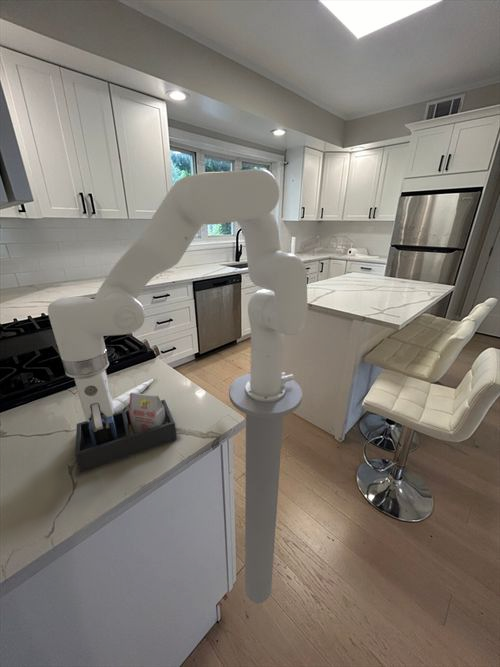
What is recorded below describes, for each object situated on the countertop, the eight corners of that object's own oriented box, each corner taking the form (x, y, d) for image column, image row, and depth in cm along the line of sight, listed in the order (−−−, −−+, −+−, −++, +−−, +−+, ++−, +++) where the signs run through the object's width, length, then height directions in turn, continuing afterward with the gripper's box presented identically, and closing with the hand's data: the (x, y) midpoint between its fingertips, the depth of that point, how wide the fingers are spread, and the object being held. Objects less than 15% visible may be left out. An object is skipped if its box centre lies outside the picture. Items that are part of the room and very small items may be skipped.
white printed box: (141, 422, 68) (135, 388, 64) (166, 426, 67) (162, 391, 63) (132, 433, 64) (125, 397, 61) (159, 437, 63) (153, 401, 59)
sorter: (166, 413, 72) (164, 399, 70) (176, 439, 64) (174, 423, 62) (81, 439, 64) (76, 423, 62) (80, 472, 55) (75, 455, 54)
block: (115, 425, 63) (111, 409, 62) (117, 438, 60) (113, 422, 58) (93, 432, 61) (88, 416, 60) (93, 446, 58) (88, 429, 56)
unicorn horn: (163, 382, 86) (162, 369, 84) (101, 434, 65) (97, 418, 63) (151, 379, 87) (149, 366, 85) (86, 429, 67) (81, 413, 65)
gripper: (110, 376, 48) (128, 455, 55) (105, 341, 62) (119, 408, 69) (59, 388, 45) (85, 470, 52) (66, 348, 59) (85, 417, 66)
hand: (104, 434), depth 60 cm, fingers closed on block, 4 cm apart
